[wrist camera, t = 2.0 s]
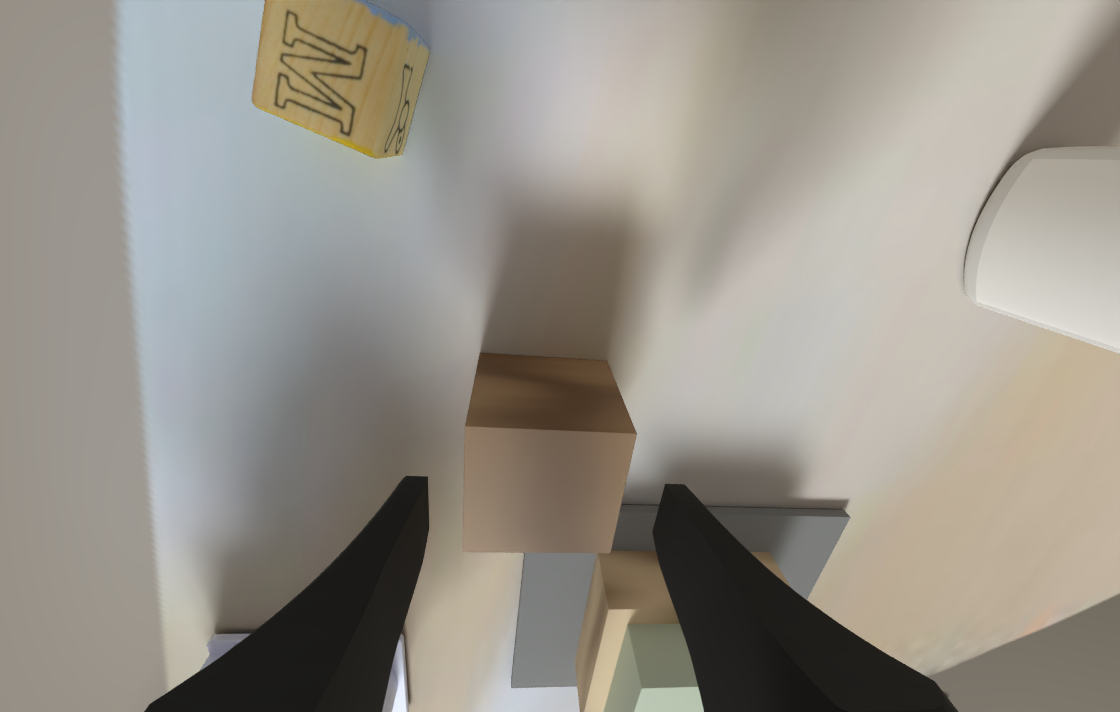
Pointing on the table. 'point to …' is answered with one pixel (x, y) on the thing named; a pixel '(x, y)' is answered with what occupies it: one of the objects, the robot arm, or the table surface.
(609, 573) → the tower base
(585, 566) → the mat
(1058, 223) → the eye dropper bottle
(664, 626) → the tower top
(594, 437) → the walnut cube
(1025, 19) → the table surface
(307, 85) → the alphabet block
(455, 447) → the table surface
